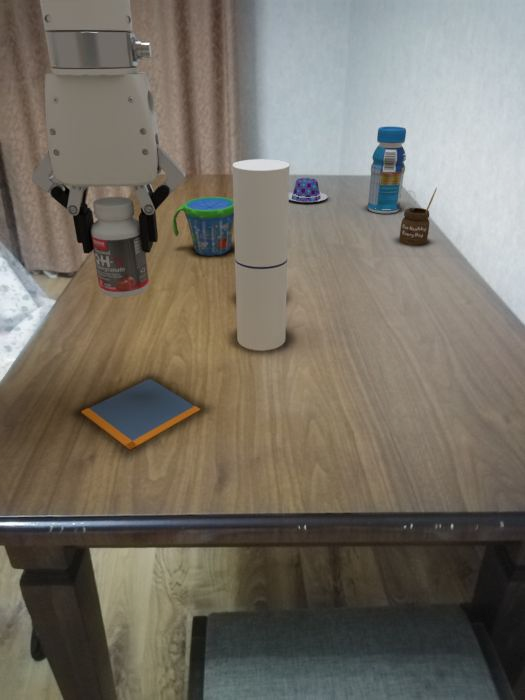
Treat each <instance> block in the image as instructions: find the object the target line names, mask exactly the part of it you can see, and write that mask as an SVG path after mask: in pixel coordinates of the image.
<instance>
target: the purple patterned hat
mask: <svg viewBox="0 0 525 700" xmlns="http://www.w3.org/2000/svg"><path fill="white" fill-rule="evenodd" d="M293 194H296V195H298V196H305V197H311V196H317V195H318V194H320V196H318V197H315V198H313V197H312V198H299V197H296V196H293ZM328 198H329V197H328V195H327V194H325V193H322V192H321V191H320V187H319V182H318V180H317V179H315V178H312V177H301V178H298V179H296V181H295V183H294V187H293V191H289V201H293V202H296V203H306V204H307V203H316V202H322V201H324V200H325V201H326V199H328Z"/></svg>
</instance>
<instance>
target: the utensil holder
mask: <svg viewBox="0 0 525 700" xmlns="http://www.w3.org/2000/svg"><path fill="white" fill-rule="evenodd" d="M437 189H438V187H437V186H436V187H435V189H434V192H433V194H432V196H431V198H430V200H429V203H428V205H427V208H422V207H416V202H413V206H412V207H408V206H409V204H408V203H406V204H405V207H406V209H405V210H404V211H403V212H404V213H403V216H404V217H403V218H402V220H401V223H400V229H399V230H400V231H399V242H400V243H401V244H403V245H406V246H411V247H420V246H424V245H426V244H427V241H428V237H429V230H430V220H429V217H430V211H429V208H430V207H431V205H432V202H433V200H434V197H435V195H436V192H437ZM408 192H409V195H408V196H409V197H408V198H409V200H411V193H412V194H414V195H412V196H413V197H412V198H413V199H416V197H417V196H416V194H415V191H410V190H408V191H406V192H405V193H404V194H405V195H407V194H408Z"/></svg>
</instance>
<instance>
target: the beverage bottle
mask: <svg viewBox="0 0 525 700" xmlns="http://www.w3.org/2000/svg"><path fill="white" fill-rule="evenodd" d="M376 135H377V137H376V142H377V143H378V145H377V147H376V148H375V149H374V151H373V154H372V157H371V158H372V163H371V166H370V178H369V179H370V180H369V191H368V201H367V209H368V210H369V211H370V212H372V213H376V214H383V215H384V214H395V213H398V212H399V211H400V207H401V198H402V189H403V183H404V174H405V171H406V166H405V161H406V160H407V154H406V150H405V149H404V146H403V144H405V141H406V136H407V129H406V127H402V126H379V128H378V129H377V134H376ZM368 205H369V206H370V207H369V206H368ZM375 208H376V209H375ZM396 208H397V209H396ZM382 209H391V210H382Z"/></svg>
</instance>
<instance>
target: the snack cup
mask: <svg viewBox="0 0 525 700" xmlns="http://www.w3.org/2000/svg"><path fill="white" fill-rule="evenodd" d="M181 211H183V212H184V216H185V218H186V220H187V223H188V227H189V231H190V235H191V241H192V245H193V249H194V251H195V252H196V253H197V254H198V255H201V256H203V257H204V256H205V257H214V256H222V255H224V254H227V253H228V252H229V251H231V247H232V239H233V232H234V202H233V198H232V199H231V198H229V197H225V196H224V197H223V196H203V197H197V198H193V199H190V200H187V201H186V202H184V204H183V205H181V206H179V208H177V209H176V211H175V212H174V214H173V218H172V230H173V234H174V235H175V236H176V237H178V236H179V234H180V233H179V229H178V223H177V217H178V216H179V214H180V212H181Z"/></svg>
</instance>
